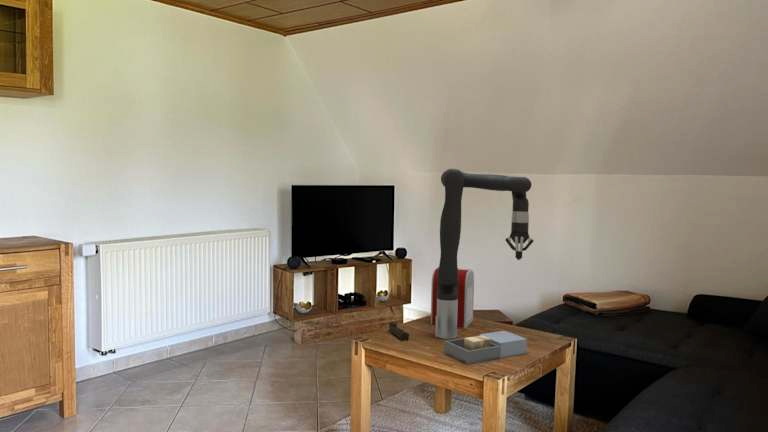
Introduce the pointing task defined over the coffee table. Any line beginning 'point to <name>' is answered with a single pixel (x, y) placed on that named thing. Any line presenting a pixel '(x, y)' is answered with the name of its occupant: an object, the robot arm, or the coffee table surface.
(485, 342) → the block
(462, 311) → the red rounded-top case
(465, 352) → the bin
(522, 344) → the platform
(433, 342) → the coffee table surface
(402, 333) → the hand tool
